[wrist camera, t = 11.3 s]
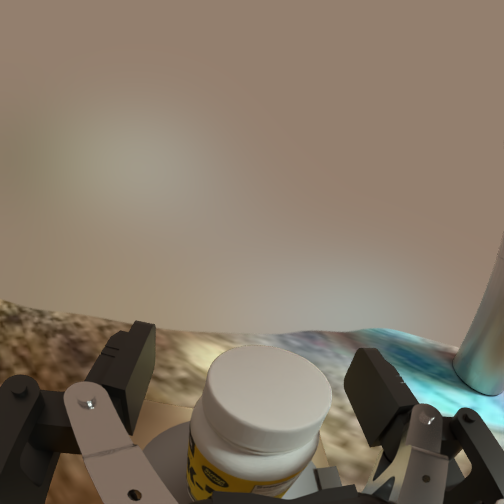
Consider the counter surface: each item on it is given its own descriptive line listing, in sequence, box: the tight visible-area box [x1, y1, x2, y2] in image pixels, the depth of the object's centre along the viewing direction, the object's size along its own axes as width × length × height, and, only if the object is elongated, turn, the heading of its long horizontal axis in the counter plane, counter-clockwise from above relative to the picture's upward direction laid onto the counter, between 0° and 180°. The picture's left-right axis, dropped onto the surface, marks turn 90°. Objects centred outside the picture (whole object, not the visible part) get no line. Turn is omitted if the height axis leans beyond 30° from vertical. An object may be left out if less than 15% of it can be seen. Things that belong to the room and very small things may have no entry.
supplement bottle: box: [186, 345, 332, 501], centre depth 9 cm, size 5×5×8 cm
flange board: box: [129, 399, 342, 504], centre depth 11 cm, size 12×12×2 cm
